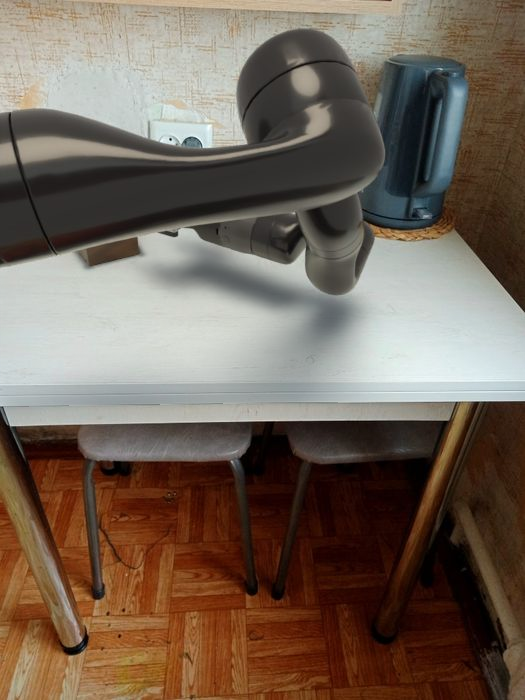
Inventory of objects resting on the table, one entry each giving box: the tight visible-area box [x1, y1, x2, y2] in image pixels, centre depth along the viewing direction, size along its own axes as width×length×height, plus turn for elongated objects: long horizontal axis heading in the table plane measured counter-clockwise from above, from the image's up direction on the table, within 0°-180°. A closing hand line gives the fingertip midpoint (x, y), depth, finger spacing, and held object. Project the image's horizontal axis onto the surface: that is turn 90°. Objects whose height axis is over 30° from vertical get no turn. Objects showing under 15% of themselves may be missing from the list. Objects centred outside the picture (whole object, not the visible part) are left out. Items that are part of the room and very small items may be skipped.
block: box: [77, 236, 140, 267], centre depth 90 cm, size 9×9×4 cm
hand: (146, 196), depth 79 cm, fingers open, 8 cm apart
